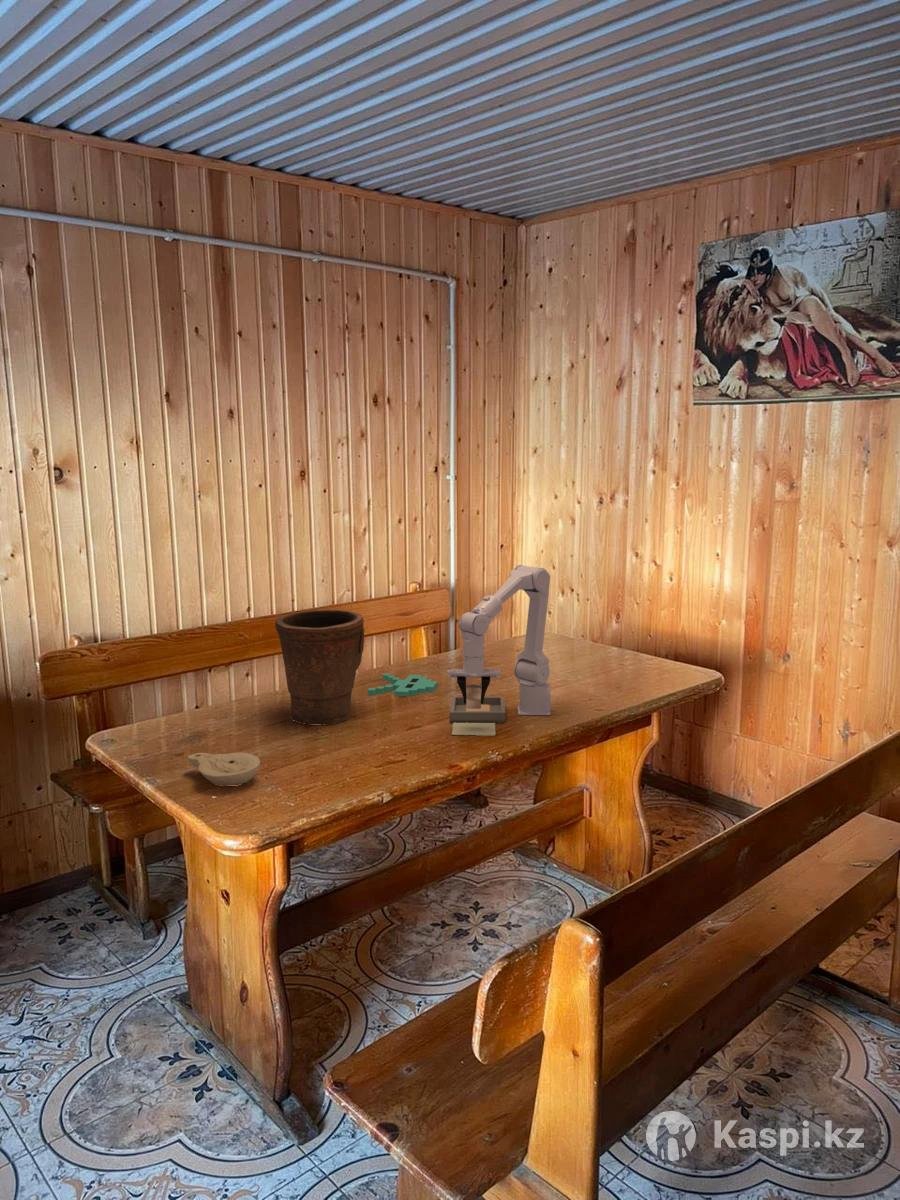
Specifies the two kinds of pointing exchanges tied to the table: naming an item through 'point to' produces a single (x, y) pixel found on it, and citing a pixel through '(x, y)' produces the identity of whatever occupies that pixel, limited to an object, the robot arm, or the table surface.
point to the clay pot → (321, 662)
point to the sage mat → (474, 729)
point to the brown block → (473, 696)
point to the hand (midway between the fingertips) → (473, 702)
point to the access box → (478, 711)
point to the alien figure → (405, 685)
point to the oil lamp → (226, 767)
